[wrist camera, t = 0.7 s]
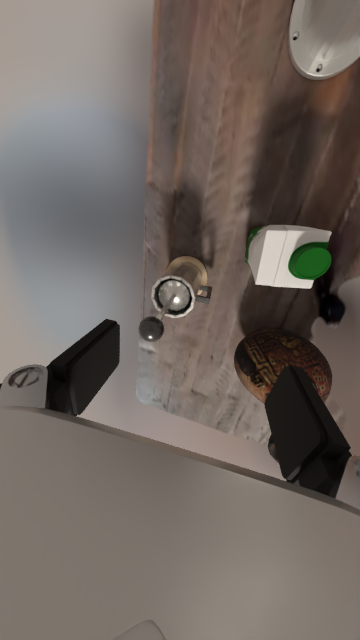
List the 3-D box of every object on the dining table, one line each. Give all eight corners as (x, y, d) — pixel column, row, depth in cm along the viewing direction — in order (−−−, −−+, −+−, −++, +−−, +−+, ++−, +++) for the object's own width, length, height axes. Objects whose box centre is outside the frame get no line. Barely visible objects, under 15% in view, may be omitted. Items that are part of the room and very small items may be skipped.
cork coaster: (169, 251, 46) (168, 252, 45) (212, 261, 45) (212, 261, 44) (163, 292, 51) (163, 293, 51) (201, 301, 50) (201, 302, 50)
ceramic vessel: (327, 338, 48) (451, 475, 22) (281, 379, 56) (331, 511, 30) (255, 301, 47) (296, 397, 21) (221, 348, 56) (219, 457, 30)
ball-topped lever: (161, 276, 35) (124, 308, 22) (192, 284, 35) (174, 321, 21) (157, 305, 38) (123, 348, 25) (186, 312, 38) (167, 360, 24)
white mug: (172, 258, 46) (154, 271, 33) (216, 268, 45) (214, 285, 32) (168, 289, 50) (149, 311, 38) (208, 299, 49) (203, 325, 36)
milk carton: (280, 267, 42) (320, 298, 25) (240, 265, 44) (251, 292, 27) (292, 225, 38) (349, 225, 21) (247, 224, 40) (265, 224, 22)
